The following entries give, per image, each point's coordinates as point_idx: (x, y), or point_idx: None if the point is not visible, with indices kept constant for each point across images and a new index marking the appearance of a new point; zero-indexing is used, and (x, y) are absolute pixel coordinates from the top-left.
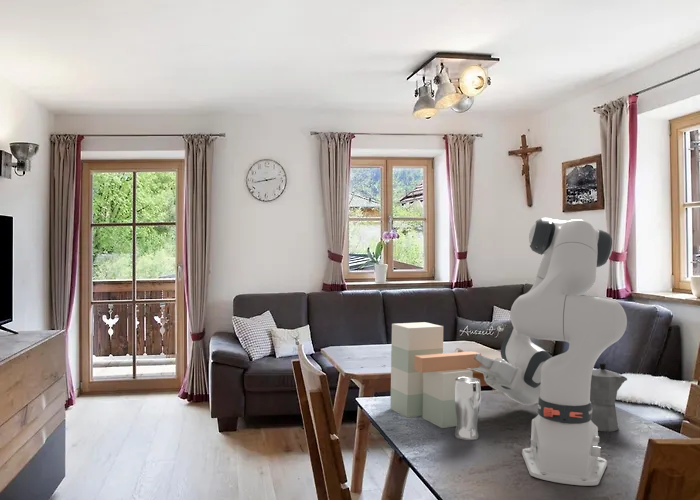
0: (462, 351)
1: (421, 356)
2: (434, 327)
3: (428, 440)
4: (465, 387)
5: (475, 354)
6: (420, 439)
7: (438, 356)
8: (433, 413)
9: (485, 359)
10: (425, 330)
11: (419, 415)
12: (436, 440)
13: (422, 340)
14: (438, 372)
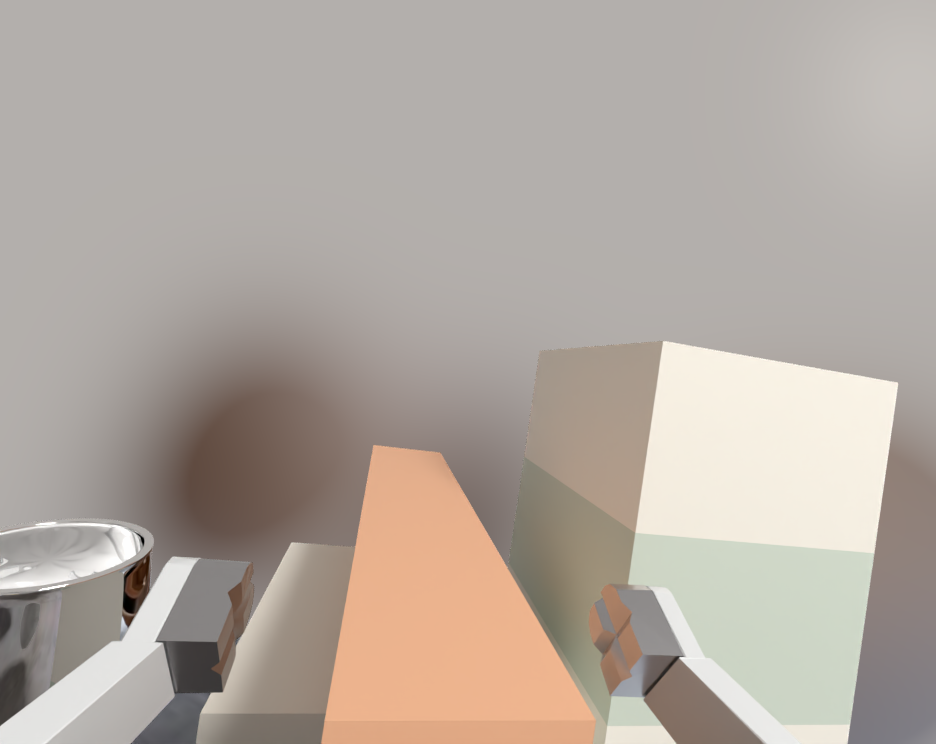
0: (633, 649)
1: (411, 453)
2: (613, 349)
3: (168, 711)
4: (24, 551)
5: (249, 566)
6: (203, 693)
7: (381, 469)
8: None
9: (63, 701)
10: (578, 366)
11: None
12: (137, 737)
13: (560, 423)
14: (340, 549)
